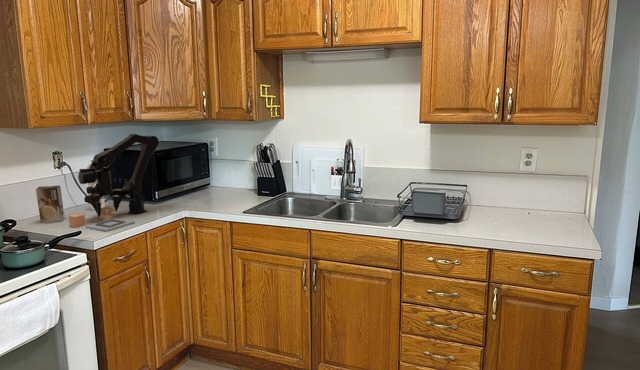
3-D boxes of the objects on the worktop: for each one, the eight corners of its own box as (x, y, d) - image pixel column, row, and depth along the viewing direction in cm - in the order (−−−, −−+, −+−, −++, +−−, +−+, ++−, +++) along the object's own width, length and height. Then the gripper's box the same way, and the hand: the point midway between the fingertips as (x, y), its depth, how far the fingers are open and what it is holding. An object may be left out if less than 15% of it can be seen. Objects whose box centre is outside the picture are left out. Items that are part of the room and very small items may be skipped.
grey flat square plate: (114, 220, 221) (114, 217, 220) (134, 223, 215) (134, 220, 214) (86, 228, 207) (85, 225, 207) (106, 231, 202) (106, 228, 201)
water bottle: (90, 210, 239) (84, 161, 234) (90, 207, 245) (85, 159, 240) (105, 209, 242) (100, 160, 237) (105, 206, 248) (100, 158, 243)
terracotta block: (79, 224, 215) (77, 213, 214) (85, 225, 212) (84, 214, 212) (69, 226, 211) (68, 215, 210) (76, 228, 209) (75, 217, 208)
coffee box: (65, 218, 225) (61, 185, 222) (62, 221, 219) (57, 187, 216) (43, 219, 223) (39, 186, 220) (39, 223, 217) (35, 188, 214)
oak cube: (108, 216, 227) (107, 206, 227) (115, 217, 225) (114, 207, 224) (99, 219, 223) (98, 208, 222) (107, 220, 221) (105, 209, 220)
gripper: (109, 176, 233) (112, 207, 236) (74, 183, 216) (78, 216, 219) (125, 178, 227) (128, 209, 230) (90, 185, 211) (94, 219, 214)
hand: (107, 213), depth 224 cm, fingers open, 9 cm apart
